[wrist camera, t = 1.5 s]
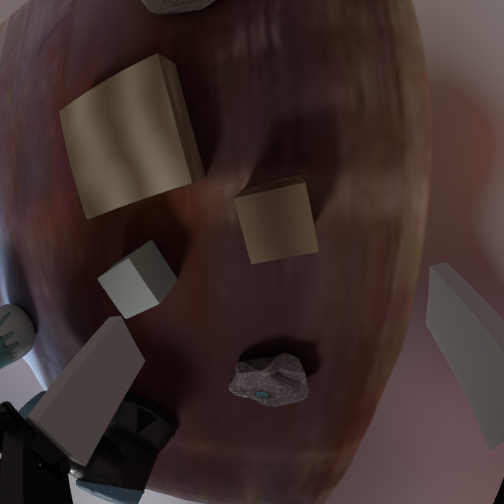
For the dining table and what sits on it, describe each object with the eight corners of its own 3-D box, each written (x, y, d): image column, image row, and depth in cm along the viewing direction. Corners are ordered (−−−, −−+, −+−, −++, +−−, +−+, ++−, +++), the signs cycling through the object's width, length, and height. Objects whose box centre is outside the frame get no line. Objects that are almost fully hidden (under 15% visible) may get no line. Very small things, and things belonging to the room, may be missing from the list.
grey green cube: (145, 295, 36) (125, 319, 31) (121, 259, 35) (97, 278, 29) (178, 279, 34) (159, 303, 29) (152, 239, 33) (128, 257, 27)
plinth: (109, 209, 32) (87, 219, 28) (84, 112, 28) (59, 111, 23) (206, 176, 30) (192, 182, 25) (176, 64, 25) (157, 53, 20)
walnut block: (259, 238, 31) (251, 264, 25) (245, 186, 29) (233, 198, 23) (312, 228, 30) (318, 251, 24) (300, 174, 28) (305, 182, 22)
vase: (12, 323, 46) (-31, 364, 30) (7, 288, 42) (-46, 329, 25) (43, 350, 47) (0, 398, 30) (39, 316, 42) (-15, 367, 26)
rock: (223, 354, 38) (216, 376, 34) (302, 344, 36) (303, 368, 32) (238, 389, 41) (234, 410, 37) (309, 382, 39) (310, 404, 35)
